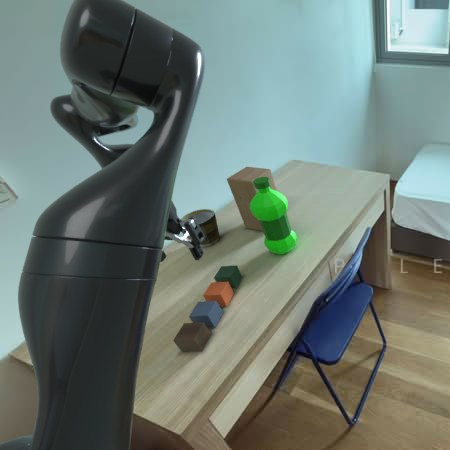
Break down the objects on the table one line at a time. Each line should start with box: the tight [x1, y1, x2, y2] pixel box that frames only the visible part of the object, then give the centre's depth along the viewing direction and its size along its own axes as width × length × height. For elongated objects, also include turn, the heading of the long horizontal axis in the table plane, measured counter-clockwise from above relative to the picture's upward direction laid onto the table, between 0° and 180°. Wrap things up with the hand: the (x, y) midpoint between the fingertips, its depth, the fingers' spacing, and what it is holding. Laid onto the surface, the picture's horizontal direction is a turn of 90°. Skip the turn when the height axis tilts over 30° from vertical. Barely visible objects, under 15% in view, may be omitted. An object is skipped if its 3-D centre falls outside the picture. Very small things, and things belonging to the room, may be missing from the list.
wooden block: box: [226, 166, 278, 232], centre depth 108 cm, size 10×10×20 cm
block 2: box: [202, 281, 235, 308], centre depth 82 cm, size 5×5×5 cm
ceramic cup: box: [180, 208, 221, 248], centre depth 102 cm, size 13×10×10 cm
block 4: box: [172, 322, 212, 353], centre depth 71 cm, size 5×5×5 cm
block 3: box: [188, 300, 224, 329], centre depth 77 cm, size 5×5×5 cm
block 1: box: [213, 265, 243, 290], centre depth 87 cm, size 5×5×5 cm
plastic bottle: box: [250, 177, 298, 255], centre depth 93 cm, size 10×10×25 cm
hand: (180, 258), depth 71 cm, fingers open, 8 cm apart
